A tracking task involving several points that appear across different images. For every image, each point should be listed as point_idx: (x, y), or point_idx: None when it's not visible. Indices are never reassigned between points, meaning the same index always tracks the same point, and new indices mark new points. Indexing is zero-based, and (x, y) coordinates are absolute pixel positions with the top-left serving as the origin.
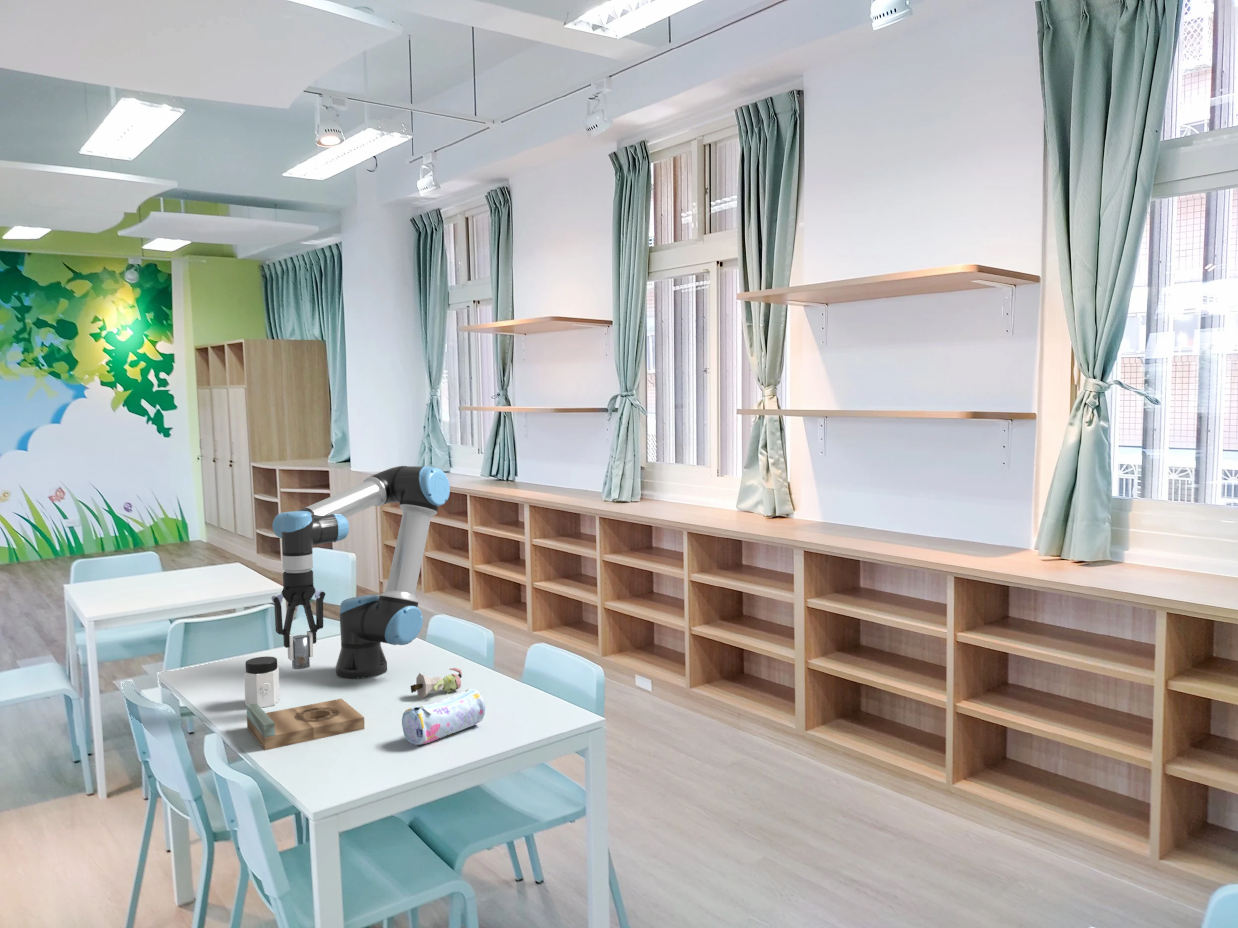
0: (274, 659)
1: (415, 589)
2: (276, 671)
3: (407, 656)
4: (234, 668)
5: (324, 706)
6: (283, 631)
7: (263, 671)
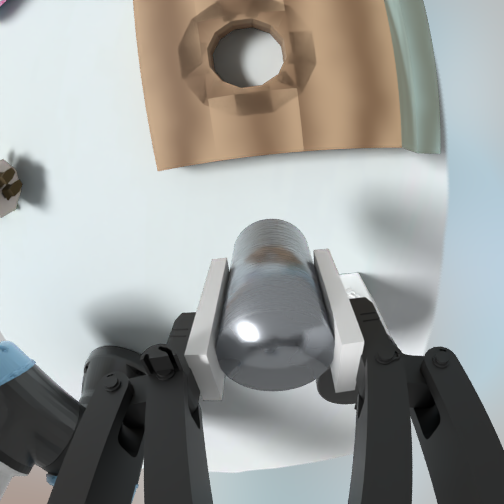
0: (328, 376)
1: None
2: None
3: (74, 394)
4: (318, 446)
5: (214, 116)
6: (411, 375)
7: None
